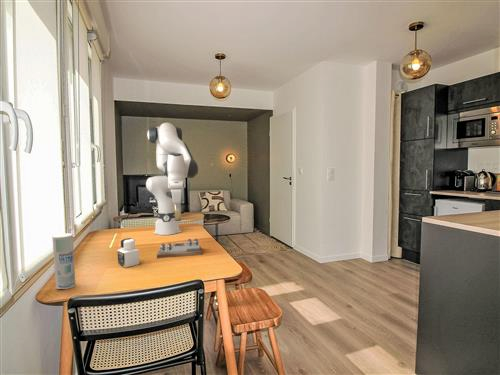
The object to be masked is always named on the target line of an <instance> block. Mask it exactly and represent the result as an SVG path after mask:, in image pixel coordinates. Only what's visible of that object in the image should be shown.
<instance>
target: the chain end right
mask: <svg viewBox="0 0 500 375" xmlns="http://www.w3.org/2000/svg"><path fill="white" fill-rule="evenodd" d="M172 246H173V247H172V249H173V250H179V249H187V252H191V251H199V246H200V242H199V240H198V238H194V240H193V241H192V239H191V238H188V240H187V242H177V243H175V242H174V243H172Z"/></svg>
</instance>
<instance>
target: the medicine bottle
mask: <svg viewBox="0 0 500 375" xmlns="http://www.w3.org/2000/svg"><path fill="white" fill-rule="evenodd" d="M135 240H136V239H135V238H131V237H129V238H123V239H122V240H121V241H120V248H119V249H117V265H119V266H120V267H122V268H124V269H126V268H130V267H134V266H137V265H140V249H138V248H136V241H135Z"/></svg>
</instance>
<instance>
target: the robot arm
mask: <svg viewBox="0 0 500 375" xmlns="http://www.w3.org/2000/svg"><path fill="white" fill-rule="evenodd" d="M146 136H147V140H148V141H149V143H151V144H156V150H155V156H156V158H155V159H156V167H157V168H158V169H159V170H160V171H163V175H155V176H154V175H153V176H150V177H148V178H147V179H146V182H145V187H146V189H147V191H148V192H150V193H151V194H152V195H153V196H154V197H155V199H156V201H157V208H158V210H157V211H158V212H157V220H155V230H154V231H153V232H152V234H154V235H161V236H169V235H176V234H178V233H182V229H181V228H180V225H179V221H175V207H176V212H179V205H180V204H182V192H184V188H186V178H187V179H193V178H194V177H196V176H197V175H198V173H199V166H198V164H197V162H196V160H195V159H194V158H193V155H192V152H191V151H190V149H189V147H188V146H187V143H186V142H184V141H183V138H184V133H183V130H182V129H181V128H180V127H179V126H178V127H177V126H174V124H173V123H171V122H163V123H161V124H160V125H159V126H151V127H149V128H148V130H147V132H146ZM167 193H170V194H171V196H168V195H167Z"/></svg>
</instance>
